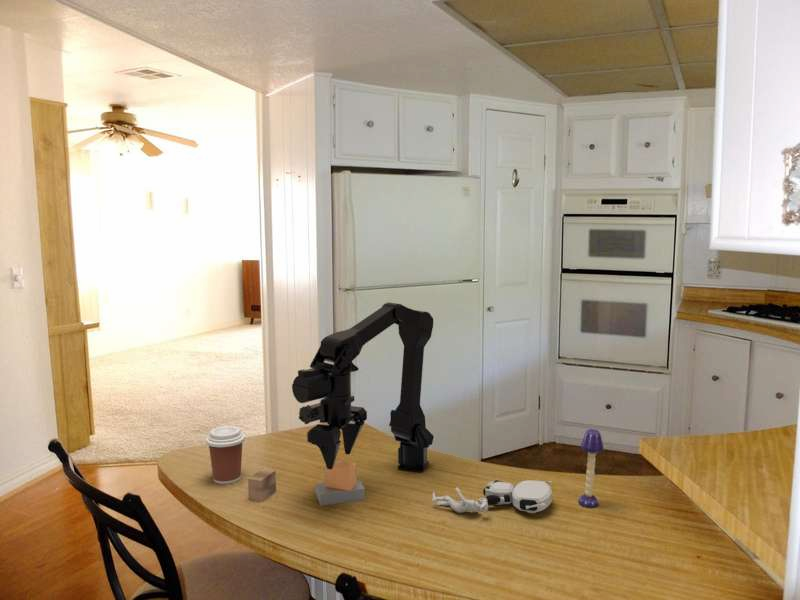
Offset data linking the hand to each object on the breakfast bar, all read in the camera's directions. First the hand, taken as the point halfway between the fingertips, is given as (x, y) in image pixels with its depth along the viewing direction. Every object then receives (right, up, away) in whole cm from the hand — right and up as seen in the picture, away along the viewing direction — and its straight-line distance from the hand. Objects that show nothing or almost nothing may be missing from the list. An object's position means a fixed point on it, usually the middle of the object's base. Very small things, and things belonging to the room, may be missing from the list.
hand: (339, 461), depth 141 cm
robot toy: (+39, -9, -3) cm, 40 cm away
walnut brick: (-18, -8, +2) cm, 20 cm away
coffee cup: (-28, -7, +11) cm, 31 cm away
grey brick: (0, -9, +1) cm, 9 cm away
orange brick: (0, -6, +1) cm, 6 cm away
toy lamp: (+55, -9, -3) cm, 56 cm away
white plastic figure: (+26, -10, -6) cm, 29 cm away
